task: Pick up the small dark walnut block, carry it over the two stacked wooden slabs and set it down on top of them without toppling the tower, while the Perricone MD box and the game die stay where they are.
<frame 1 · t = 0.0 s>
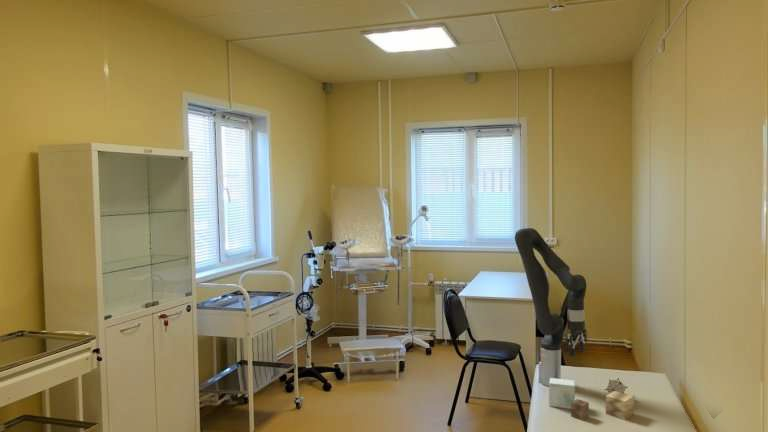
hand: (576, 354, 252), 17 cm above the table, tool pointing down, fingers open, 8 cm apart
tower top: (619, 405, 228), point 4 cm above the table, touching tower base
block: (579, 416, 227), on the table
tower base: (619, 414, 228), on the table, touching tower top
game die: (616, 397, 246), on the table
skincare box: (561, 405, 238), on the table
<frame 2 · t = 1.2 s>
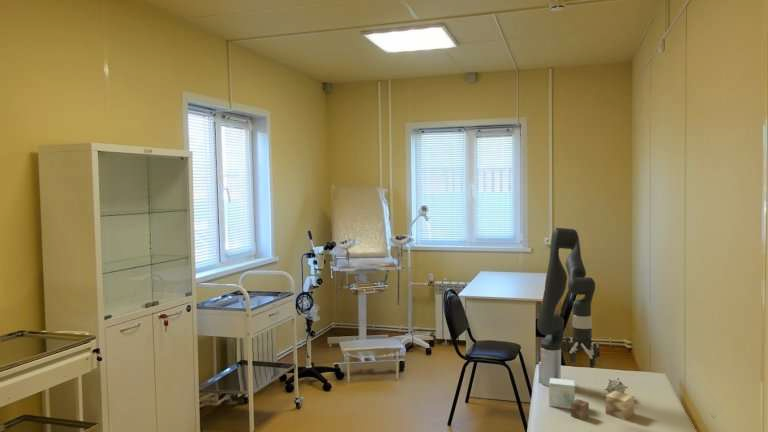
hand: (582, 364, 227), 21 cm above the table, tool pointing down, fingers open, 8 cm apart
nothing on the table moved.
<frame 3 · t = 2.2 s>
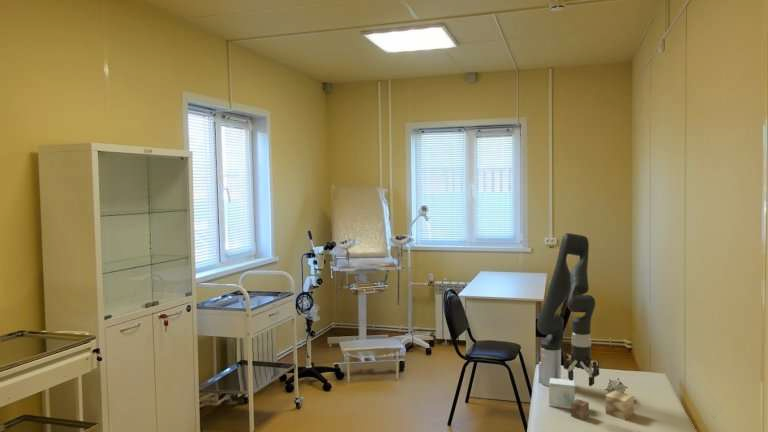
hand: (581, 382, 225), 14 cm above the table, tool pointing down, fingers open, 8 cm apart
nothing on the table moved.
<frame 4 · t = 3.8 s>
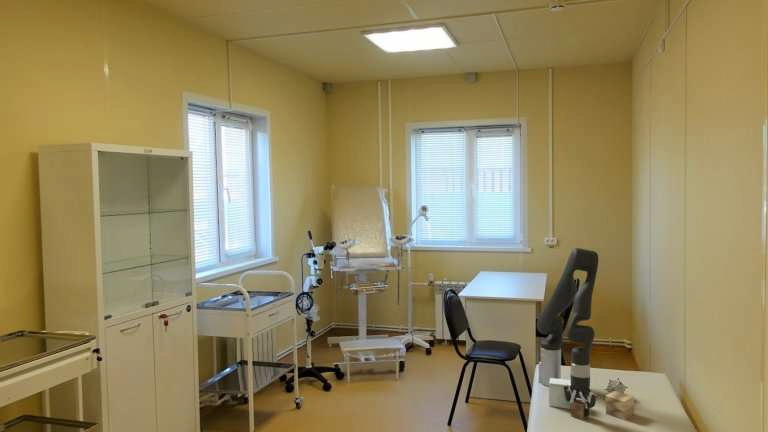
hand: (579, 414, 226), 1 cm above the table, tool pointing down, fingers closed on block, 5 cm apart
block: (579, 416, 227), on the table, touching gripper
everything else where it was.
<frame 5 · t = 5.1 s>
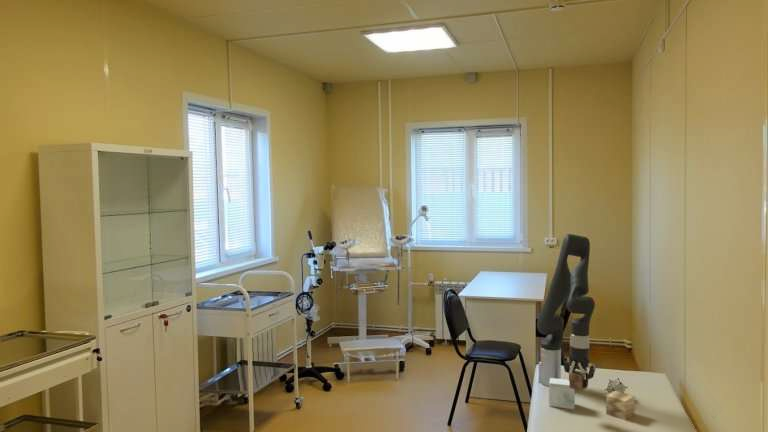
hand: (578, 385, 226), 13 cm above the table, tool pointing down, fingers closed on block, 5 cm apart
block: (578, 387, 226), point 12 cm above the table, touching gripper
everything else where it was.
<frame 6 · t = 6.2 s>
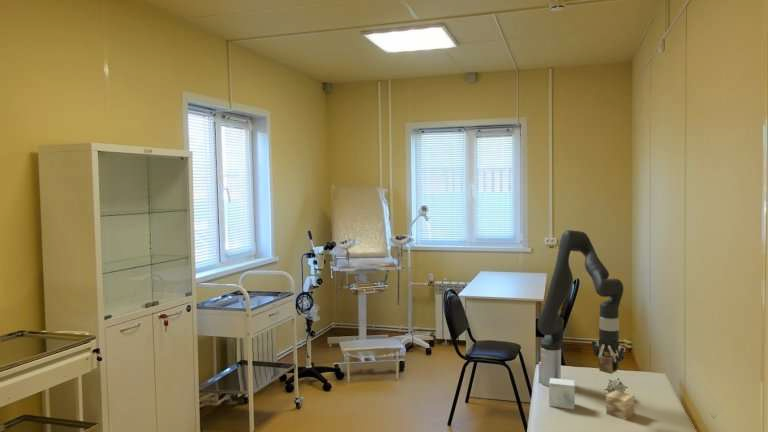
hand: (608, 368, 226), 20 cm above the table, tool pointing down, fingers closed on block, 5 cm apart
block: (608, 370, 226), point 19 cm above the table, touching gripper
everything else where it was.
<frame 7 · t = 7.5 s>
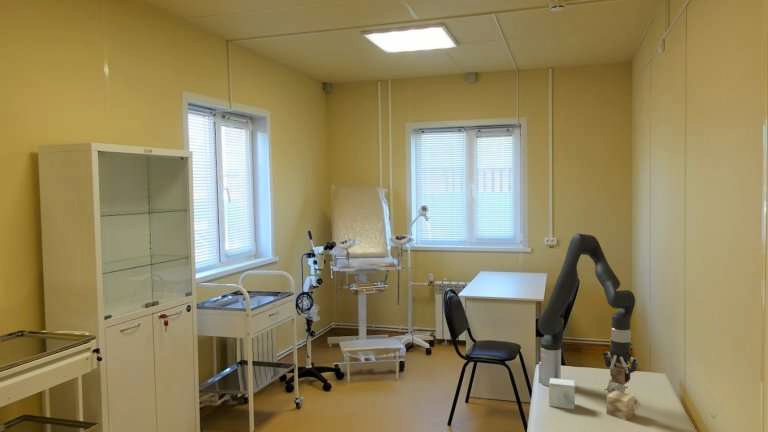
hand: (620, 379, 228), 15 cm above the table, tool pointing down, fingers closed on block, 5 cm apart
block: (620, 381, 228), point 14 cm above the table, touching gripper
everything else where it was.
when the fingers open (10 cm above the table, at t = 8.8 s): block drops 1 cm, resting on tower top.
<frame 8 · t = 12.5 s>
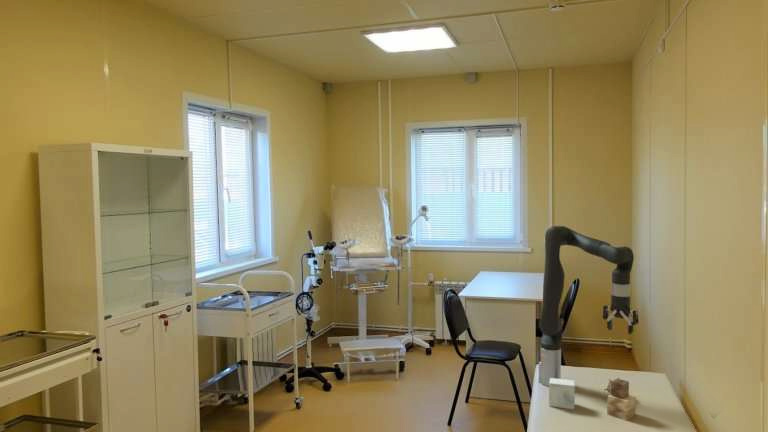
hand: (620, 331, 235), 32 cm above the table, tool pointing down, fingers open, 8 cm apart
tower top: (621, 405, 228), point 4 cm above the table, touching block, tower base
block: (619, 395, 228), point 8 cm above the table, touching tower top
everything else where it was.
at the end: block inside the target area on the tower base (0.6 cm from its centre), point 8.0 cm above the tower base's base; tower top 0.2 cm off-centre on the tower base, point 4.0 cm above the tower base's base; block tilted 0° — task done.
